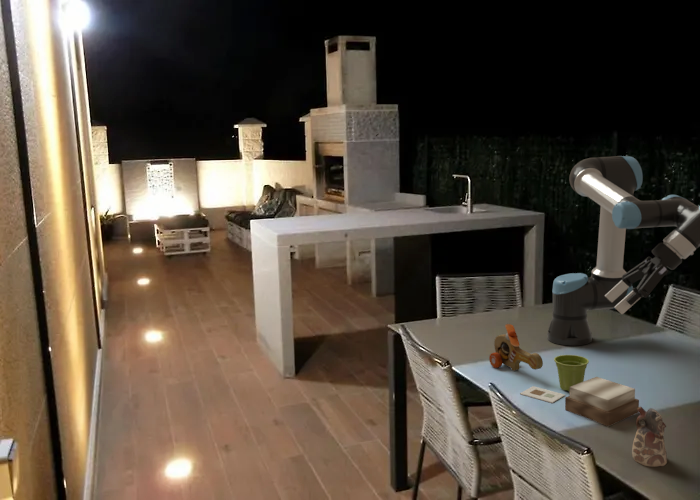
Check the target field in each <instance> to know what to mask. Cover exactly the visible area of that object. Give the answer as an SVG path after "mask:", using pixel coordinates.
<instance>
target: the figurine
mask: <svg viewBox="0 0 700 500" xmlns="http://www.w3.org/2000/svg"><path fill="white" fill-rule="evenodd" d="M655 409H656V408H655ZM655 409H654V408H651V407H650V408H648V409H647V411H646V410H645V409H644V407H642V406H639V407H638V409H637V410H638V411H639V415H638V416H637V418H636V421H635V425H636V429H637V430H636V433H635V436H634V439H633V442H632V449H631V456H632V459H633V460H634V461H635V462H636V463H637V464H640V465H642V466H644V467H650V468H651V467H655V468H656V467H664V466H665V465H666V464H667V463H668V458H667V455H668V454H667V450H666V445H665V437H664V434H665V429H666V428H667V425H666V423H664V421H663V417H662V415H661V414H660V412H659V411H657V410H655ZM641 421H643V422H644V424H641V423H640V422H641Z"/></svg>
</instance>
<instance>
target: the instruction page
mask: <svg viewBox="0 0 700 500" xmlns="http://www.w3.org/2000/svg"><path fill="white" fill-rule="evenodd" d="M520 395H522V396H525V397H529V398H533V399H536V400H539V401H543V402H546V403H549V404H550V403H551V404H554V403H555V402H557V401H559V399H561V398H563V397H566V394H564V393H560V392H556V391H553V390H549V389H545V388H542V387H537V386H535V385H533V386H531V387H528V388H527V389H525V390H523V391H522V392H520Z"/></svg>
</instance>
